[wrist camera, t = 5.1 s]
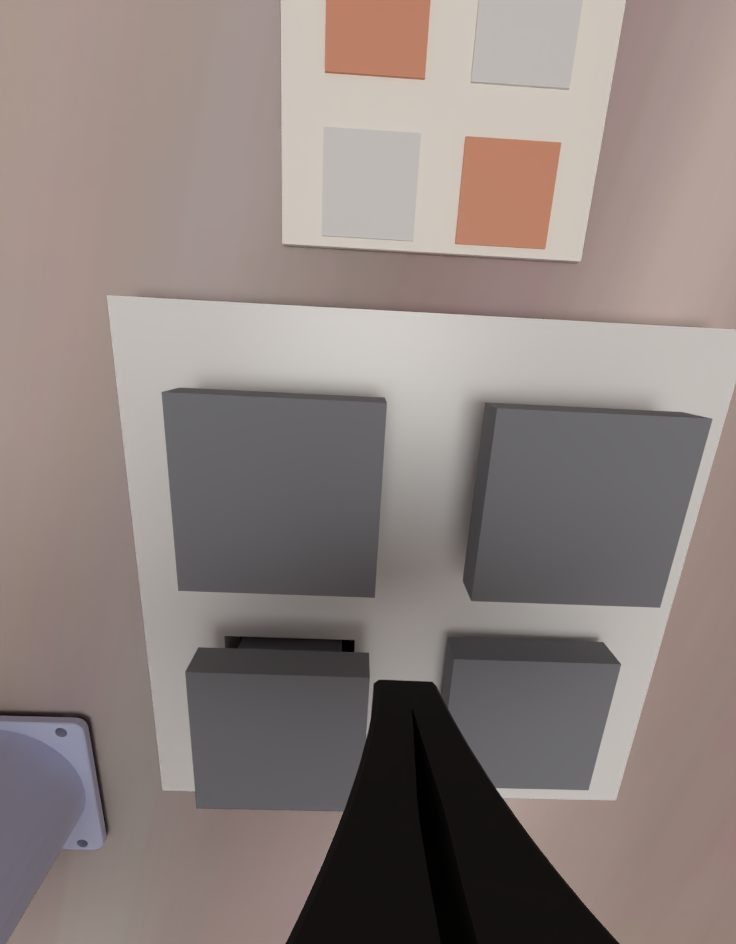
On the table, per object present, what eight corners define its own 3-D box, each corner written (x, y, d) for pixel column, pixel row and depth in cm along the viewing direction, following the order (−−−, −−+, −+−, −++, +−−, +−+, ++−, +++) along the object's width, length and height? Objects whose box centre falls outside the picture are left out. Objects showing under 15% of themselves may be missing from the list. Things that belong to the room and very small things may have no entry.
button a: (222, 734, 19) (196, 808, 16) (215, 614, 17) (185, 672, 14) (361, 738, 19) (361, 811, 16) (368, 619, 17) (369, 677, 14)
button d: (451, 554, 17) (470, 600, 14) (469, 394, 15) (497, 408, 12) (607, 560, 17) (660, 607, 14) (642, 403, 15) (712, 418, 12)
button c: (211, 545, 16) (178, 590, 13) (202, 381, 15) (161, 392, 12) (372, 551, 16) (374, 597, 13) (381, 390, 15) (386, 402, 12)
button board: (180, 749, 21) (162, 790, 19) (139, 301, 15) (106, 295, 13) (593, 759, 21) (615, 800, 20) (702, 331, 16) (750, 330, 14)
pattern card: (283, 245, 15) (281, 243, 14) (282, -66, 12) (279, -79, 12) (576, 262, 15) (582, 260, 15) (628, -39, 13) (636, -51, 12)
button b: (426, 721, 20) (437, 786, 17) (439, 607, 18) (454, 659, 15) (555, 724, 20) (588, 790, 17) (579, 612, 19) (621, 664, 16)
